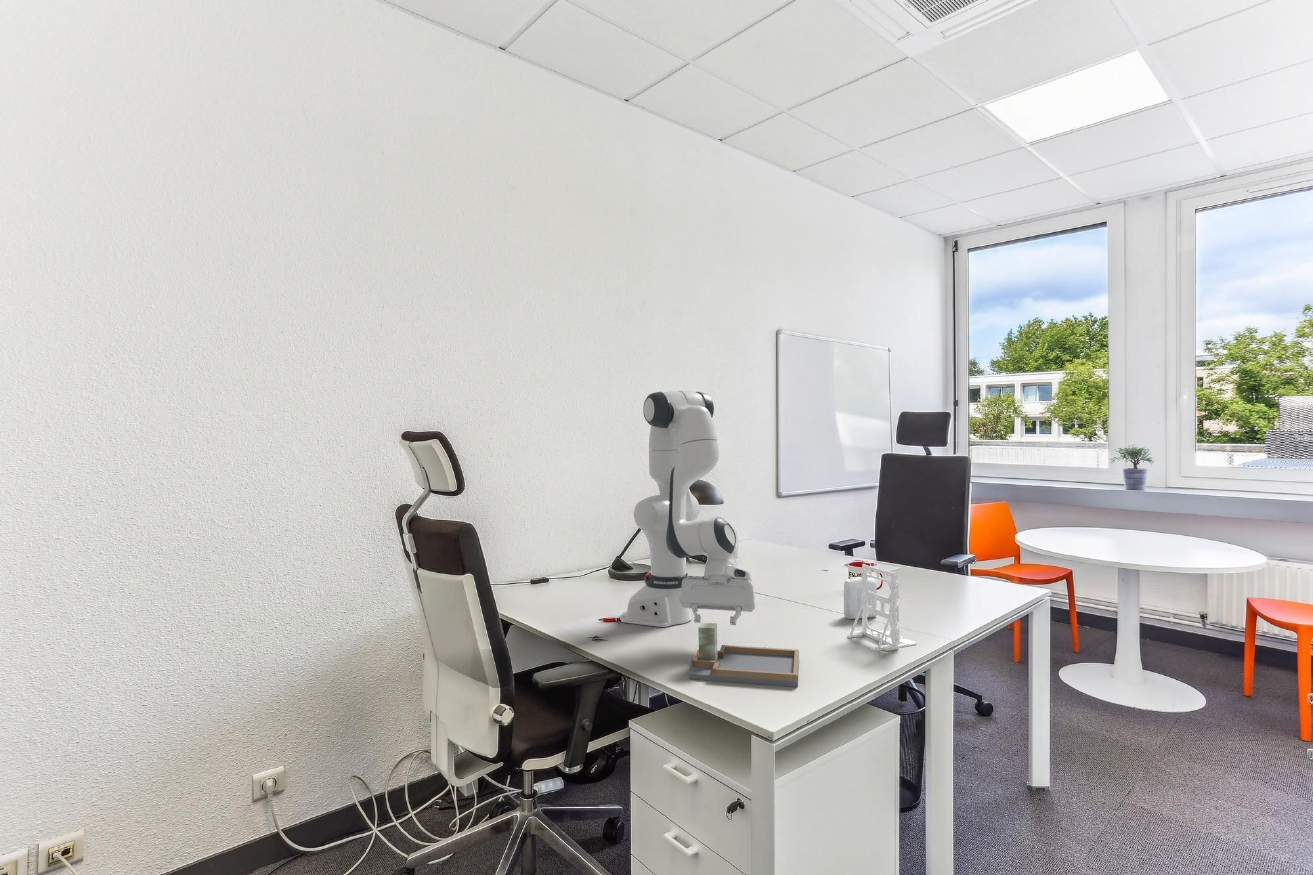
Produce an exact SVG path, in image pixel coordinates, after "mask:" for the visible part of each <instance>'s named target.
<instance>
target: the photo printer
mask: <svg viewBox="0 0 1313 875" xmlns="http://www.w3.org/2000/svg"><path fill="white" fill-rule="evenodd" d="M866 584H867V587H868V590H869V591H870V592H873V593H876V594H878V593H877V591H878V590H877V588H878V587H877V582H876V580H875V578H872V577H868V579H867V582H866ZM862 593H863V587H862V578H861V576H856V577H852V578H848V579H847V580H845V581H844V582H843V613H844V614H843V615H844V618H845V619H847V620H852V619H853V620H855V619H856V616H857V613H858V612H859V609H860V606H861V603H862V601H861V598H862ZM877 601H878V600H876V607H878V603H877ZM872 602H873V601H872V598H870V597H868V606H871V607H872ZM862 614H863V608H862V609H861V612H860V616H859V618H858V619H862ZM877 616H878V615H876V614H873V613H871V612H869V614H868V616H867V619H868V618H876V617H877Z"/></svg>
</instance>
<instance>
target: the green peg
mask: <svg viewBox="0 0 1313 875" xmlns="http://www.w3.org/2000/svg"><path fill="white" fill-rule="evenodd" d="M697 630H698V650H699V660H712V661H717V660H718V654H717V651H718V623H715V622H714V623H712V622H700V623H699V625H698V629H697Z"/></svg>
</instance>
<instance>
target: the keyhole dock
mask: <svg viewBox="0 0 1313 875" xmlns="http://www.w3.org/2000/svg"><path fill="white" fill-rule="evenodd" d="M717 654H718V660H717V661H712V660H699V649H697V651H696V652H695V655H694V656H693V658H692V661H691V662H692V667H691V670H689V671H690V672H689V674H688V679H689V680H698V679H699V681H700V680H701V681H715V682H726V683H737V684H738V683H741V684H752V685H753V684H754V685H766V686H767V685H768V686H780V687H782V686H783V687H792V688H793V687H795V688H798V687H799V669H800V668H799V667H800V650H799V649H795V648H794V649H793V648H792V649H791V648H774V647H760V646H759V647H757V646H745V645H744V646H743V645H740V646H739V645H725V644H722V645H721V646H720V649H719V650H717Z"/></svg>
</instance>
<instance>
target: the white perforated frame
mask: <svg viewBox="0 0 1313 875" xmlns="http://www.w3.org/2000/svg"><path fill="white" fill-rule="evenodd" d="M861 565H862V567H861V570H862V571H861V572H860V573H861V575H860V577H861V578H862V587H863V593H862V598H861V601H862V603H861V606H860V609H859V612H858V613H857V616H856V618H855V619H854V621H853V625H852V626H851V627H852V628H851V631H850V633H849V634H847V636H846V637H847V638H848V639H854V638H853V637H855V638H860V637H863V636H865V635H866V637H868V638H870V639H872V640H874V641H877V642H878V643H877V644H878V645H877V646H875V647H874V651H875V650H876V652H881V650H882V651H885V652H888V651H889V650H890V651H895V650H899V649H901V648H906V647H907V648H908V647H913V646H917V644H918V643H917V642H916V641H914V640H911V639H909V638H904V636H901V634H900V627H898V623H900V605H899V604H898V600H900V594H899V593H900V592H899V591H900V590H899V589H900V588H899V587H900V584H899V581H898V577H897V576H898V574H897V572H892V571H888V570H885V569H881V568H877V567H874V566H871V565H867V564H865V563H862V564H861ZM867 570H868V571H870V573H867ZM873 572H875V573H876V575H873ZM880 574H882V575H883V577H880ZM887 576H889V577H890V580H889V579H887ZM868 578H872V579H877V580H880V581H883V582H887V584H888V587H889V590H890V592H889V596H885V595H881V594H879V593H877V594H876V593H873V592H870V591H869V590H868V587H867V584H866V582H867V579H868ZM868 597H870V598H872V601H873V602H872V607H871V606H868ZM876 600H877V601H879V602H880V609H879V608H877V607H878V606H877V607H876ZM886 604H888V605H889V608H888V612H887V611H886V607H885V606H886ZM862 608H863V614H862V618H861V621H862V623H861V625H862V626H861V627H862V628H861V629H862V630H861V631H859V630H856V631H855V629H856V626H857V624H858V620H859V619H860V618H859V616H860V612H861V609H862ZM869 612H871V613H873V614H876V615H877V616H879V617H880V618H883V619H886V620H887V621H886V624H885V625H884V628H883V629H881V630H878V629H875V628H873V627H871V626H870V624H869V620H868V618H867V616H868V614H869ZM889 625H890V626H889ZM888 626H889V627H890V631H889V630H888ZM868 630H870V631H868ZM862 634H863V635H862ZM876 635H877V636H876ZM901 643H902V644H901ZM890 651H889V652H890Z"/></svg>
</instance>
